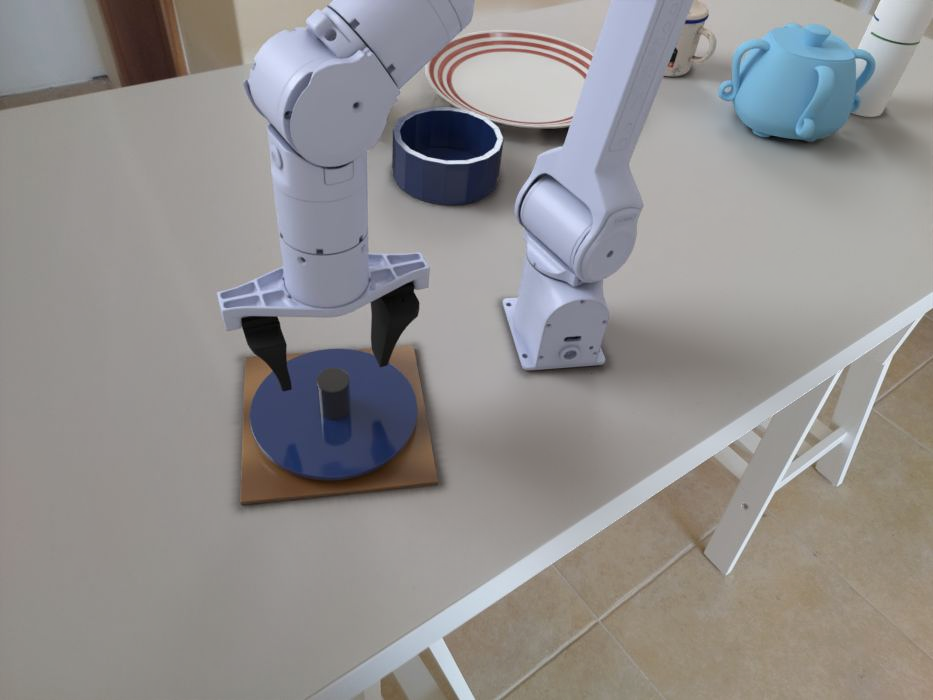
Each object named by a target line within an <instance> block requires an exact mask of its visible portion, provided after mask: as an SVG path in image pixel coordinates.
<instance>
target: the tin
mask: <svg viewBox="0 0 933 700" xmlns="http://www.w3.org/2000/svg"><path fill="white" fill-rule="evenodd" d="M504 141H505V140H504V137H503V134H502V131H501V129H500V127H499V126H498V125H497V124H496V123H495V122H492V121H490V120H489V119H488V118H486V117H484V116H481V115H479V114H476V113H474V112H472V111H467V110H462V109H458V108H456V107H451V106H447V107H446V106H437V107H436V106H432V107H426V108H421V109H415V110H413V111H411V112H408V113H407V114H405V115H403V116H402V117H400V118H399V119H398V120H397V121H396V123H395V125H394V127H393V128H392V151H391V152H392V153H391V155H392V157H391V158H392V159H391V164H392V165H391V168H392V174H393V180H394V181H395V183H396V185H397V186H398V187H399V188H400V189H401V190H402V191H403V192H405V193H406V194H408V195H409V196H411V197H413V198H415V199H417V200H419V201H422V202H425V203H430V204H435V205H442V206H459V205H461V206H462V205H466V204H471V203H475V202H478V201H480V200H483V199H485V198H486V197H488V196H489V195H490V194H492V192H493V191H494V190H495V189H496V186H497V185H498V181H499V180H498V179H499V176H500V170H501V164H502V156H503V155H502V154H503V148H504Z"/></svg>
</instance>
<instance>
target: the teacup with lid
mask: <svg viewBox="0 0 933 700" xmlns="http://www.w3.org/2000/svg"><path fill="white" fill-rule="evenodd" d="M709 15H710V14H709V7H708V6H707V4H705V3H704V2H703V1H701V0H694V1H693V3H692V6H691V9H690V11H689V14H688V16H687V19H686V21H685V24H684V26H683V29H682V31H681V34H680V36H679V39H678V41H677V44H676V46H675V49H674V51H673V54H672V56H671V59H670V61H669V64H668V66H667V69H666V71H665V74H664V77H680V76H683V75H686V74H687V73H688V72H690V70H691V67H692V64H693V63H695V64H701V63H704V62H706V61H707V60H709V59H711V58H712V56H713V54H714V53H715V50H716V48H717V37H716V35H715V34H714V32H713V31H712V30H710V29H708V28H705V27H704V26H705V24H706V20H708V19H709ZM701 36H704V37H706V38H707V40H708V43H709V47H708V50H707V51H706V53H705V54H704V55H703V56H696V52H697V48H698V46H699V42H700V39H701Z"/></svg>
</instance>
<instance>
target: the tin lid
mask: <svg viewBox="0 0 933 700" xmlns="http://www.w3.org/2000/svg"><path fill="white" fill-rule="evenodd" d="M305 353H306V354H303V355H300V356H297V357H295V358H293V359H291V360H289V361H287V368H288V372H289V376H290V380H291V385H292V390H288V391H282V389H281V386H280V383H279V380H278V378H277V377H276V375H275V374H274V372H273V371H272V372H271V373H270V374H269V375H268V376H267V377H266V378H265V379H264V381H263V382H262V383H261V384H260V386H259V388H258V389H257V391H256V393H255V395H254V397H253V400H252V403H251V407H250V426H251V430H252V434H253V437H254V439H255V442H256V444H257V445H258V447H259V448H260V450H261V451H262V453H263V454H264V455H265V456H266V457H267V458H268V459H269V460H270V461H272V462H273V463H274V464H275V465H277V466H279V467H280V468H282V469H284V470H285V471H288V472H290V473H292V474H295V475H298V476H301V477H305V478H309V479H315V480H329V481H330V480H344V479H350V478H355V477H358V476H362V475H365V474H367V473H370V472H372V471H375V470H377V469H378V468H380V467H382V466H384V465H385V464H387V463H388V462H390V461H391V460H392V459H394V458H395V457H396V456H397V455H398V454H399V453H400V452H401V451H402V450H403V448H404V447H405V446H406V445H407V443H408V442H409V440H410V438H411V437H412V434H413V432H414V429H415V426H416V422H417V411H418V408H417V400H416V396H415V393H414V390H413V388H412V386H411V384H410V383H409V381H408V380H407V378H406V377H405V376H404V375H403V374H402V373H401V371H399V370H398V369H397V368H396V367H395V366H393V365H392V364H390V363H388V365H387V366H384V367H380V366H379V364H378V362H377V360H376V358H375V355H372V354H370V353H366V352H363V351H358V350H355V349H351V348H326V349H319V350H313V351H309V352H305Z"/></svg>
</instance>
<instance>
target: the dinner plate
mask: <svg viewBox="0 0 933 700" xmlns="http://www.w3.org/2000/svg"><path fill="white" fill-rule="evenodd" d="M593 54H594V52H593V51H591V50H589V49H588V48H586V47H585V46H582V45H580V44H577V43H575V42H573V41H570V40H567V39H564V38H561V37H558V36H554V35H550V34H545V33H541V32H536V31H535V32H534V31H527V30H519V29H491V30H480V31H479V30H478V31H474V32H468V33H464V34H461V35H457V36H456V37H455V38H454V39H453V40H452V41H451V42H449V43H448V44H447V45H446V46H445V47H444V48H443V49H442V50H441V51H440V52H439V53H438V54H437V55H436V56H435V57H434V58H433V59H431V60H430V61H429V62H428V63H427V64H426V65H425V66H424V74H425V78H426V80H427V82H428V84H429V86H430V87H431V89H432V90H433V91H434V92H435V93H436V94H437V95H438V96H439V97H440V98H441V99H442V100H444V101H445V102H446V103H448V104H449V105H451V106H453V108H457V109H462V110H467V111H472V112H474V113H476V114H479V115H481V116H484V117H486V118H488V119H489V120H490V121H492V122H493V123H494V124H499V125H503V126H509V127H514V128H515V127H516V128H523V129H535V130H537V129H541V130H543V129H545V130H546V129H547V130H548V129H550V130H551V129H564V128H565V129H566V128H569V127H570V124H571V121H572V118H573V115H574V112H575V109H576V106H577V103H578V100H579V97H580V94H581V91H582V88H583V85H584V82H585V79H586V76H587V73H588V70H589V67H590V63H591V60H592V57H593Z"/></svg>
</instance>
